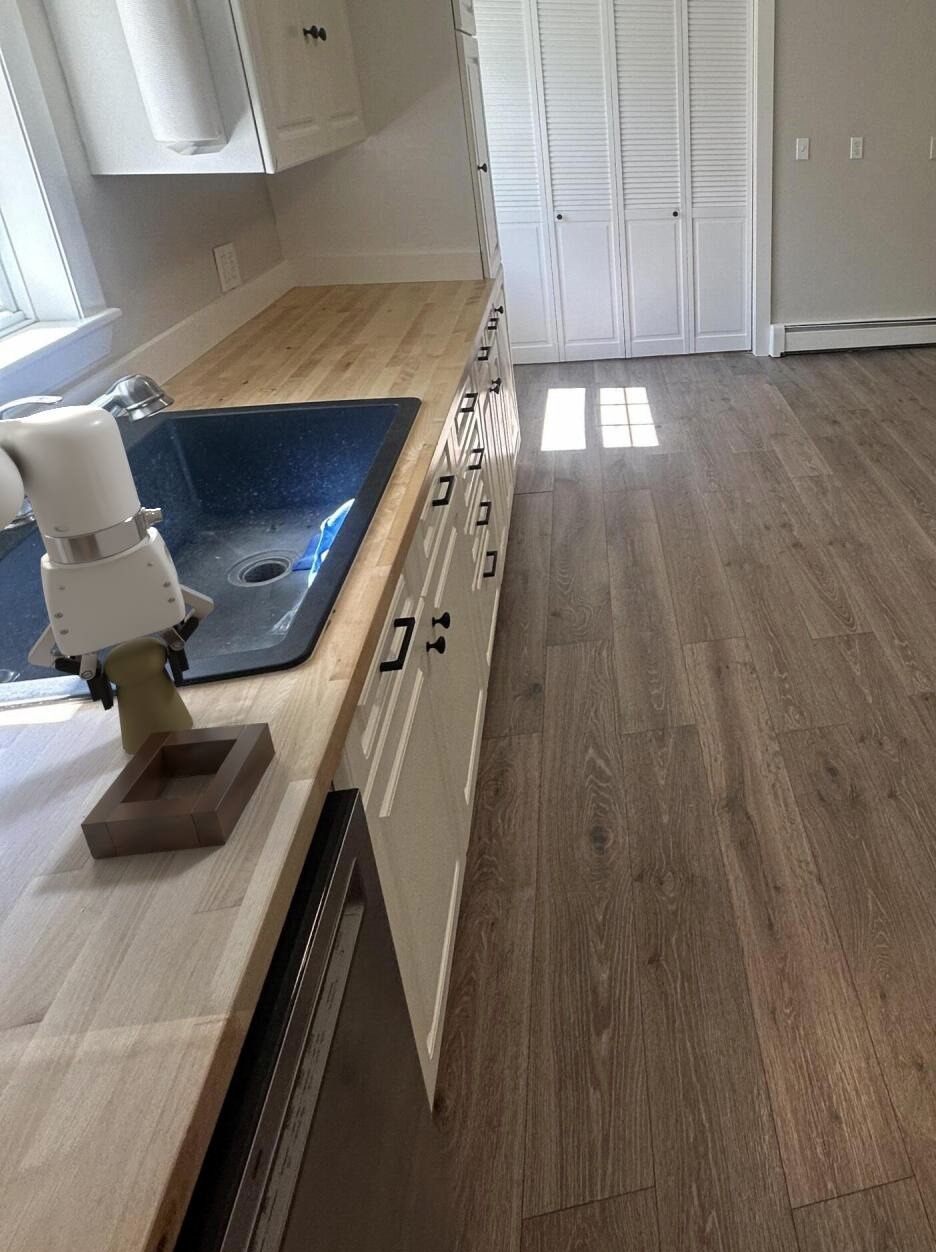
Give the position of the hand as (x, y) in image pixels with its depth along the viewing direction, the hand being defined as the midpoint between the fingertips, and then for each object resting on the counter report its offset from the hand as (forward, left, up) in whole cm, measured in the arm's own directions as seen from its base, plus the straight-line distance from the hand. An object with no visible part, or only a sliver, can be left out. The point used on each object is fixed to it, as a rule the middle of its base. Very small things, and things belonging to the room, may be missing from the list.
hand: (144, 688), depth 81 cm
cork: (0, 0, -6) cm, 6 cm away
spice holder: (+8, -10, -6) cm, 14 cm away
